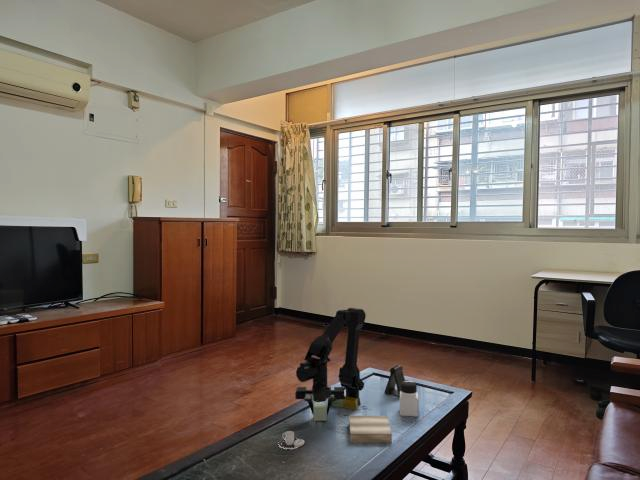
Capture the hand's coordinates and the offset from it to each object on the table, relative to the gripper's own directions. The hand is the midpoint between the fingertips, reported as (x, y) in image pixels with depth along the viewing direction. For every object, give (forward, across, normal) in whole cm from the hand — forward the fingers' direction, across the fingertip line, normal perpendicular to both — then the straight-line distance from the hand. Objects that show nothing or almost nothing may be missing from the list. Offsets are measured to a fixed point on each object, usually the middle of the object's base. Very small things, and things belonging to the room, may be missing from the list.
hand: (320, 415), depth 163 cm
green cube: (+1, 0, 0) cm, 1 cm away
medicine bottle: (+2, +35, +6) cm, 36 cm away
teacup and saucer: (+2, -9, -22) cm, 24 cm away
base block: (+2, +18, -11) cm, 21 cm away
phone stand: (+2, +33, +26) cm, 42 cm away
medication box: (+2, +9, +12) cm, 15 cm away
